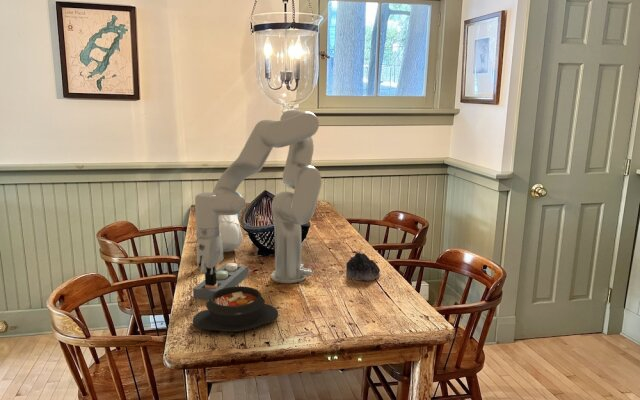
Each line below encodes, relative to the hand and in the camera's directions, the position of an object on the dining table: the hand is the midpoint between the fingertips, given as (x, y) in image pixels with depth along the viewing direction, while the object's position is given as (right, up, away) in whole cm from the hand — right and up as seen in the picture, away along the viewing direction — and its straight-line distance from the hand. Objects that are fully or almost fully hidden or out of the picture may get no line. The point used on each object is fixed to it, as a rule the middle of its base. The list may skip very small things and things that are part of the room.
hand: (210, 284), depth 167 cm
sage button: (+2, 0, +8) cm, 8 cm away
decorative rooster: (-5, +7, +48) cm, 49 cm away
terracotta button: (0, -3, +1) cm, 3 cm away
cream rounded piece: (+4, +2, +15) cm, 16 cm away
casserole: (+11, -9, -17) cm, 22 cm away
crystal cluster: (+52, 0, +19) cm, 55 cm away
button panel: (+2, -2, +9) cm, 9 cm away
